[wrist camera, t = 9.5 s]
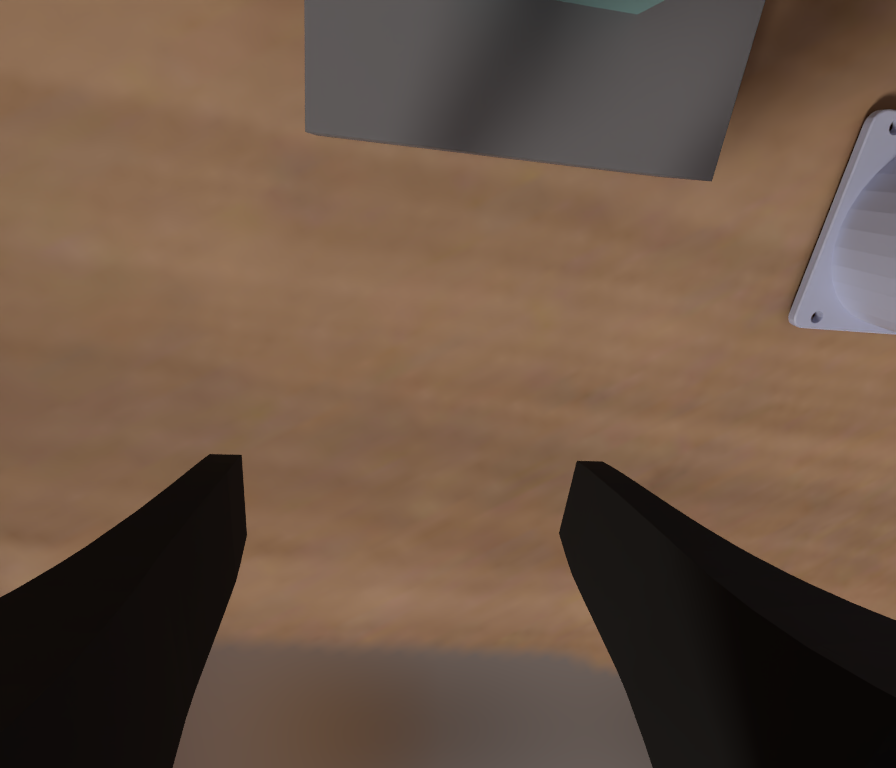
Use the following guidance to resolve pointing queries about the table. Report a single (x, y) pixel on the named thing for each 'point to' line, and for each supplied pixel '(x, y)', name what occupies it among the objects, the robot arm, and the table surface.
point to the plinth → (532, 79)
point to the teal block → (618, 4)
